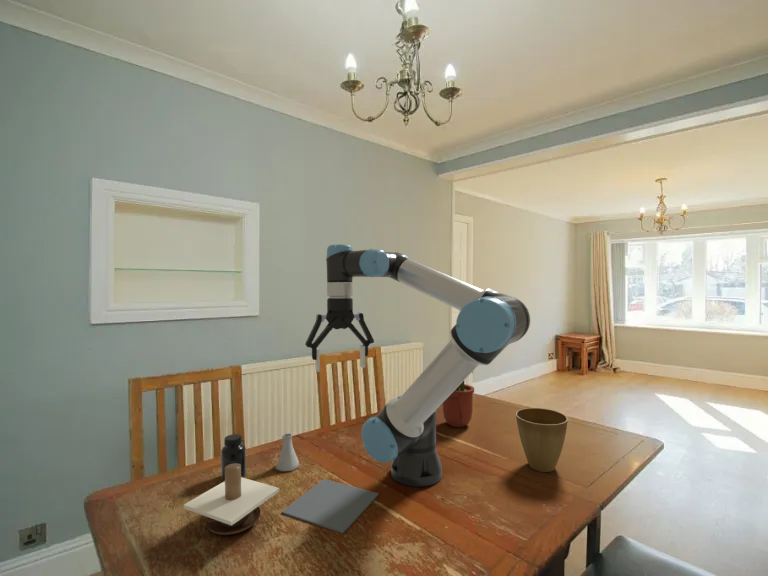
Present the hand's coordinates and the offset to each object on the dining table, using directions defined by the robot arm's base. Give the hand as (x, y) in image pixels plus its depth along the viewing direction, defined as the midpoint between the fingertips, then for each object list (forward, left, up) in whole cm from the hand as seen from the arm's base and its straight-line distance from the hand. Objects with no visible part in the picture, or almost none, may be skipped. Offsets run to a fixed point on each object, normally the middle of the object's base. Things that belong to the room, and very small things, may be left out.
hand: (340, 369), depth 116 cm
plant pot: (-53, -31, -32) cm, 69 cm away
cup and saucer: (+11, +31, -32) cm, 46 cm away
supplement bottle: (+28, +15, -32) cm, 45 cm away
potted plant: (-18, -56, -32) cm, 67 cm away
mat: (-6, +14, -32) cm, 35 cm away
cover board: (+10, +31, -26) cm, 42 cm away
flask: (+18, +3, -32) cm, 37 cm away
